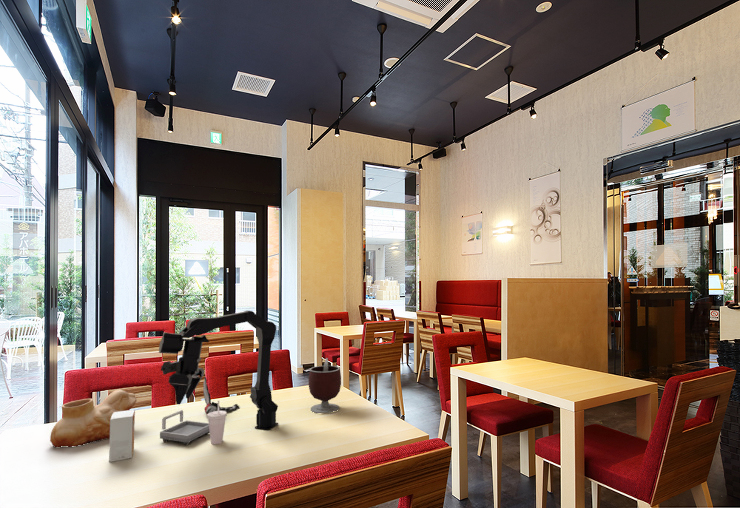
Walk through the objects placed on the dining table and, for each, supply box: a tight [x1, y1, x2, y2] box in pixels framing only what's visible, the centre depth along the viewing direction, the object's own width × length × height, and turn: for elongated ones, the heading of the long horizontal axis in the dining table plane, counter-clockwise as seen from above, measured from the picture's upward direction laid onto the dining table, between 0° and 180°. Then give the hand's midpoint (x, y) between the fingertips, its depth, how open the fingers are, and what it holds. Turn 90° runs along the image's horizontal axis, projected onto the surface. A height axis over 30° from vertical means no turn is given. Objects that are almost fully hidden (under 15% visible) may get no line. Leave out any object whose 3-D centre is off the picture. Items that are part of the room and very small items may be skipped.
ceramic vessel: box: [49, 388, 137, 448], centre depth 148 cm, size 14×26×15 cm, turn 137°
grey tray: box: [159, 409, 210, 446], centre depth 145 cm, size 13×12×8 cm
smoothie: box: [206, 400, 228, 445], centre depth 141 cm, size 6×6×14 cm
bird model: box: [202, 376, 240, 415], centre depth 172 cm, size 20×14×15 cm
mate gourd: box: [308, 357, 342, 414], centre depth 176 cm, size 16×14×20 cm
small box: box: [108, 409, 136, 463], centre depth 131 cm, size 8×6×13 cm
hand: (183, 401), depth 139 cm, fingers open, 9 cm apart
